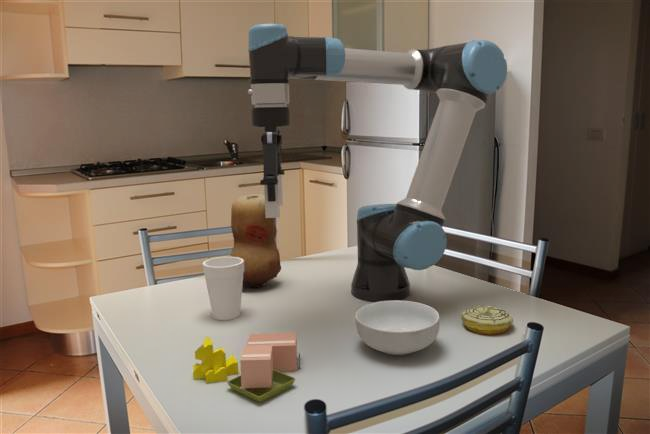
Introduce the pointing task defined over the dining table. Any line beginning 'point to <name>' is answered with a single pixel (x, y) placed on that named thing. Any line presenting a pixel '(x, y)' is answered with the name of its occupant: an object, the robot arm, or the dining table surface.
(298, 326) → the dining table surface
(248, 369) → the pink box
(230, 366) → the yellow faceted figurine
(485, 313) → the decorated donut
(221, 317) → the foam cup
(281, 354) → the pink striped box
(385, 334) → the cereal bowl
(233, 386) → the green square tray
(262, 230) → the butternut squash
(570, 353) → the dining table surface
